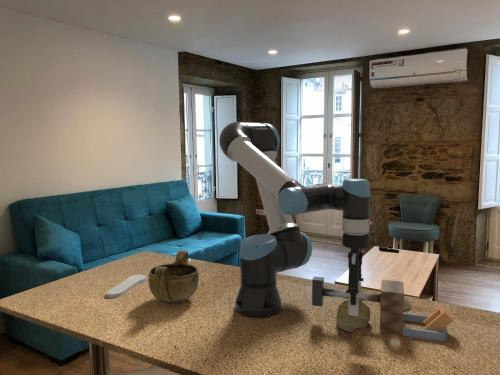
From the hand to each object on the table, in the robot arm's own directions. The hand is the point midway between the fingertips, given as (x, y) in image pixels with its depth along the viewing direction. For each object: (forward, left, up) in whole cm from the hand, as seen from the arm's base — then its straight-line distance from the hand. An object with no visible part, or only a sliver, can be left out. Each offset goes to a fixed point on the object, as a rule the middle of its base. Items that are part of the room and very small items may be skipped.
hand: (354, 308), depth 118 cm
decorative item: (-1, 0, -5) cm, 6 cm away
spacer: (+20, +1, -4) cm, 20 cm away
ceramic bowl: (-60, +1, -6) cm, 60 cm away
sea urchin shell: (+11, +17, -6) cm, 21 cm away
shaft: (-2, +1, 0) cm, 2 cm away
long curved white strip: (-84, +7, -6) cm, 85 cm away
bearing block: (+10, +1, -5) cm, 12 cm away
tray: (+19, +1, -5) cm, 19 cm away
